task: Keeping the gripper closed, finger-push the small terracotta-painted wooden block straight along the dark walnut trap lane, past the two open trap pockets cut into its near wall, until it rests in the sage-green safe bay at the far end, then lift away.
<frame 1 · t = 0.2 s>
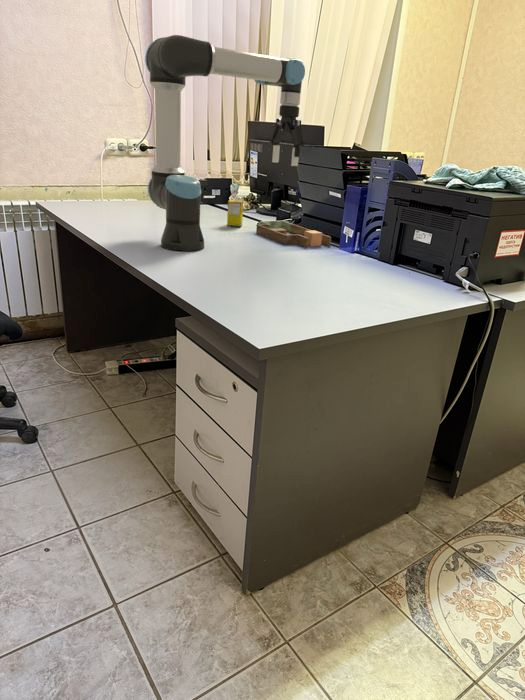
hand: (284, 164, 201), 28 cm above the table, fingers open, 13 cm apart
supplement box: (234, 226, 221), on the table
terracotta block: (312, 244, 198), on the table
trap lane: (293, 237, 207), on the table
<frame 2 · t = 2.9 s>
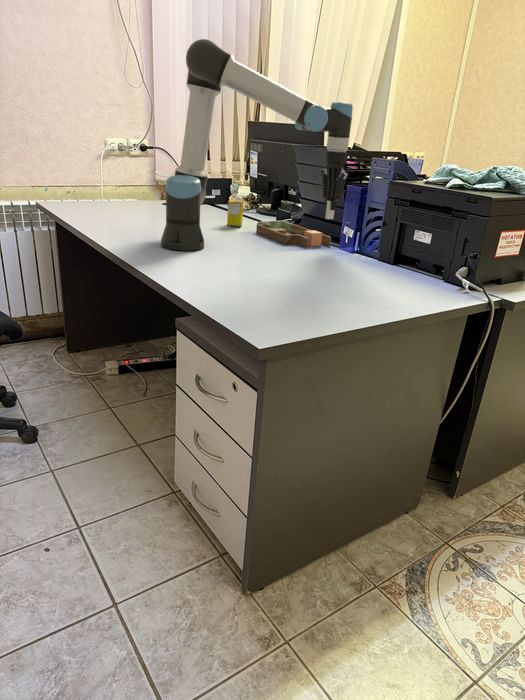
hand: (329, 218, 187), 11 cm above the table, fingers closed
nothing on the table moved.
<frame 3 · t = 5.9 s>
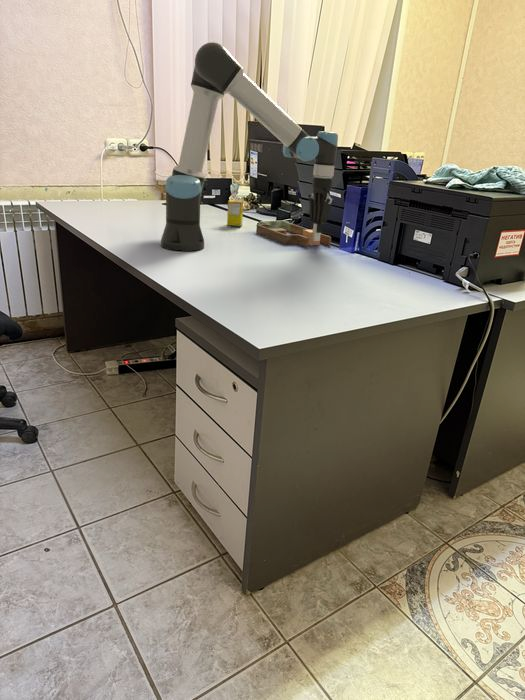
hand: (315, 240, 195), 2 cm above the table, fingers closed
terracotta block: (310, 243, 199), on the table, touching gripper
everything else where it was.
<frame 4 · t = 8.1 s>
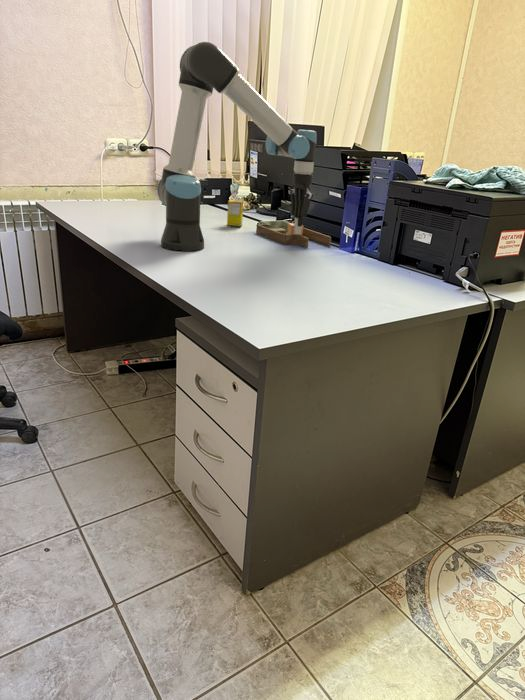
hand: (297, 233, 205), 2 cm above the table, fingers closed
terracotta block: (294, 236, 209), on the table, touching gripper
everything else where it was.
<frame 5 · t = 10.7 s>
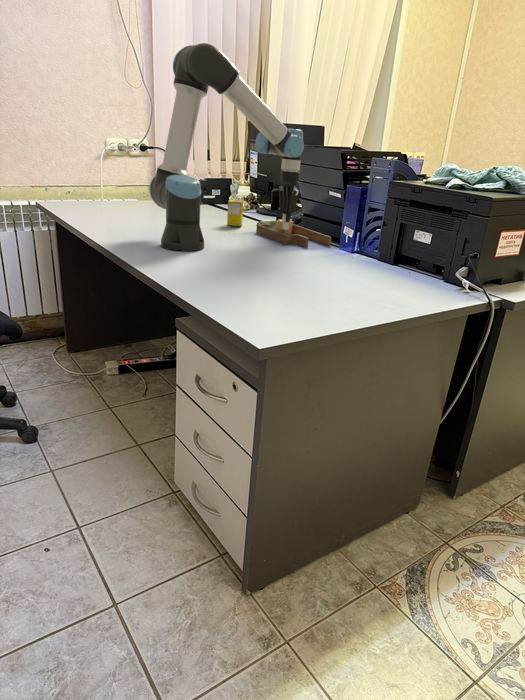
hand: (285, 229, 212), 2 cm above the table, fingers closed
terracotta block: (284, 232, 216), on the table, touching gripper
everything else where it was.
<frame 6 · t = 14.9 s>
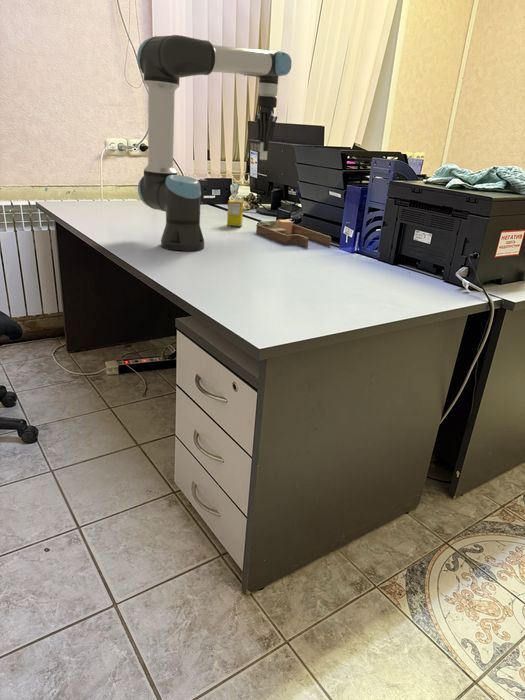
hand: (263, 159, 208), 28 cm above the table, fingers closed
terracotta block: (284, 232, 216), on the table
everything else where it was.
at the end: terracotta block inside the target area (2.3 cm from its centre), on the table; terracotta block moved 22.7 cm from its start; terracotta block touching table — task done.
